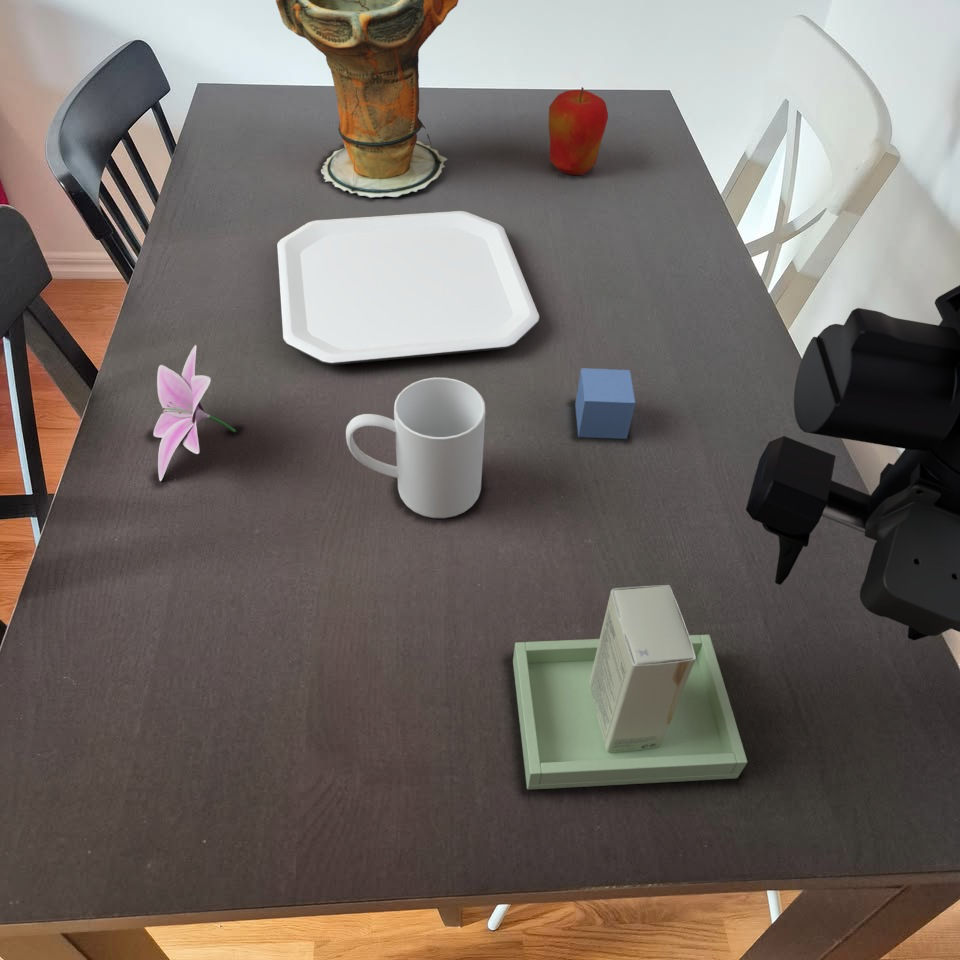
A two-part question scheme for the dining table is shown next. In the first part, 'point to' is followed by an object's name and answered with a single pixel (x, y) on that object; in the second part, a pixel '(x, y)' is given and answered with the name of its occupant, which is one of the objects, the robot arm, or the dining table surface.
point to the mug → (432, 446)
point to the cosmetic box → (640, 667)
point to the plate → (401, 288)
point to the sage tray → (577, 736)
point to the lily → (180, 410)
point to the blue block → (604, 403)
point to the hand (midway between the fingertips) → (843, 606)
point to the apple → (576, 130)
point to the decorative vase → (374, 87)
